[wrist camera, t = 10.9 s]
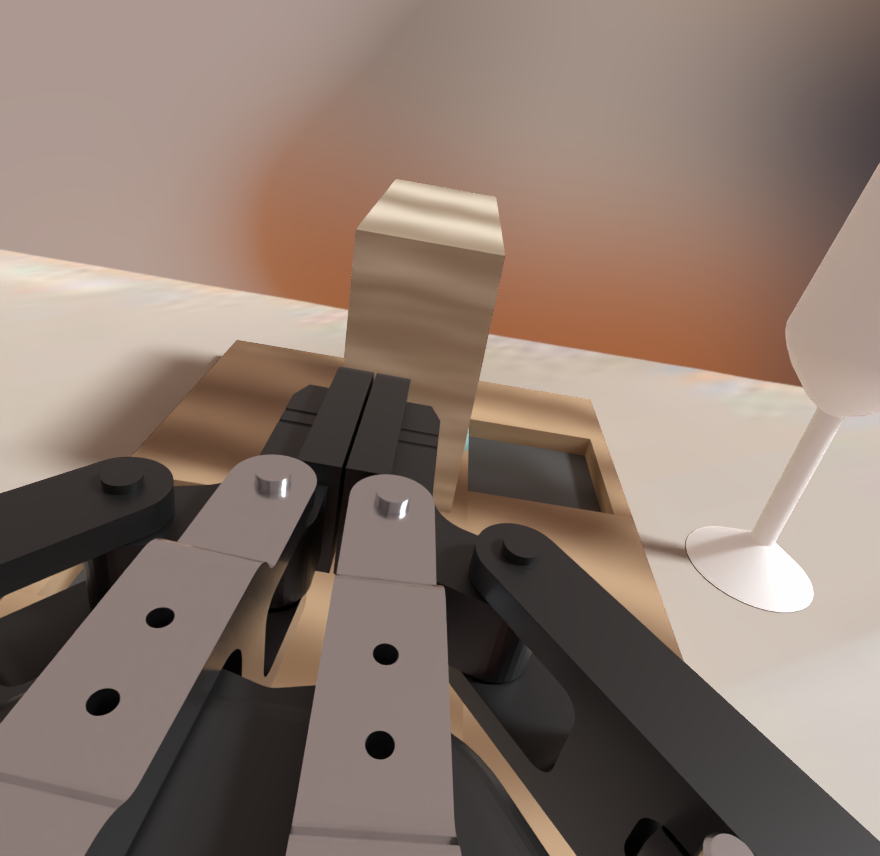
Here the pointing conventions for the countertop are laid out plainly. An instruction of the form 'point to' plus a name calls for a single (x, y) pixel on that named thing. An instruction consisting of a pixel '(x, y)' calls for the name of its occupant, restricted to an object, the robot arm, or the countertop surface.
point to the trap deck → (473, 509)
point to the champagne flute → (837, 396)
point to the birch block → (427, 304)
